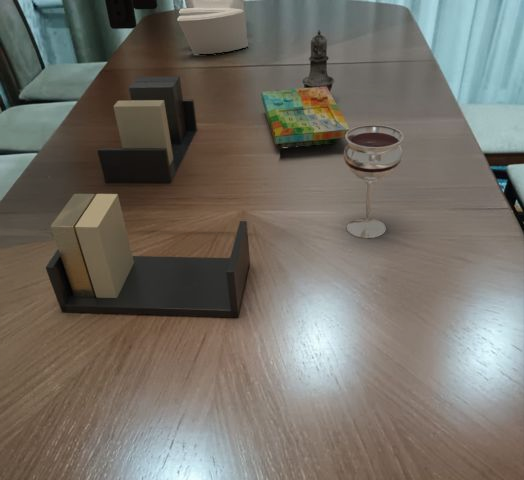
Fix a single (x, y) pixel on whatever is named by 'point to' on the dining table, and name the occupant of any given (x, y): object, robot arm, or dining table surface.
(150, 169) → the grey book rack
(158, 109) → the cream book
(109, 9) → the robot arm
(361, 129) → the wineglass
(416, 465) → the dining table surface
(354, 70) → the dining table surface
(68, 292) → the black book holder
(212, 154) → the dining table surface
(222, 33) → the wavy white extrusion
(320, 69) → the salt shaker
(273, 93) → the puzzle game
